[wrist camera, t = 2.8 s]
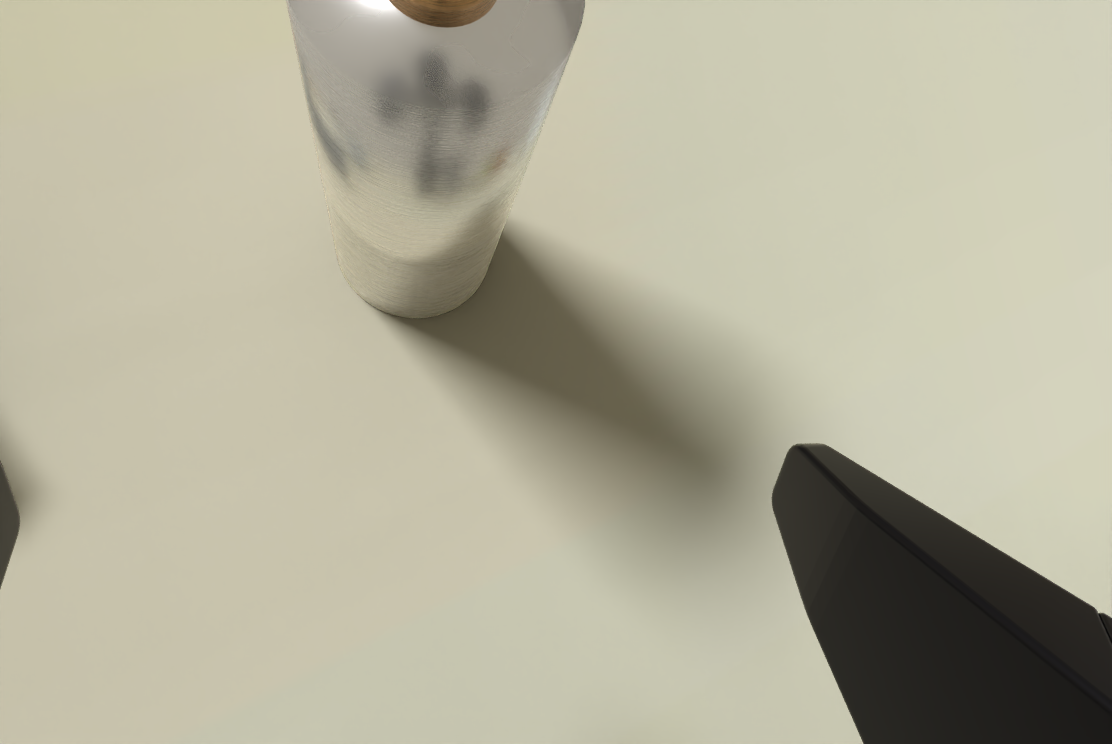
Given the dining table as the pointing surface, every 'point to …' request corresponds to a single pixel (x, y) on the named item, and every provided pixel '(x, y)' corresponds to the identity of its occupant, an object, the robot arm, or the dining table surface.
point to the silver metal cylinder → (426, 132)
